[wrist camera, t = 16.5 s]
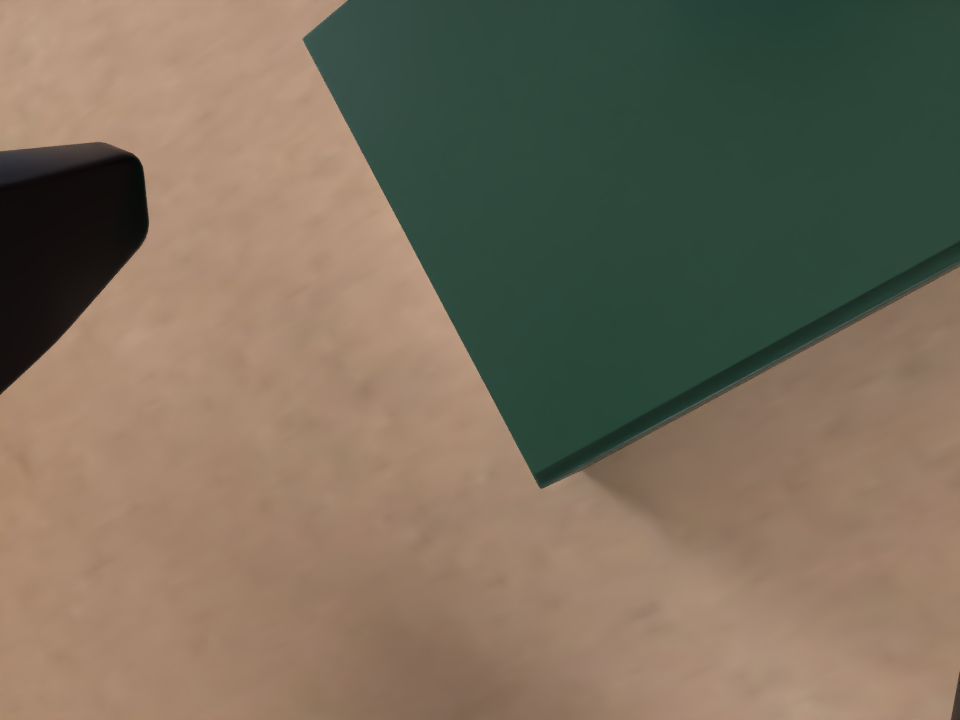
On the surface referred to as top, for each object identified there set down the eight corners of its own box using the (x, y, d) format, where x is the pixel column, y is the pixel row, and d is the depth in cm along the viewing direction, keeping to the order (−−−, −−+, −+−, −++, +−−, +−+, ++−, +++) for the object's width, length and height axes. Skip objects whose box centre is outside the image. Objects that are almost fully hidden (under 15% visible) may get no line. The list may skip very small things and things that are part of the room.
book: (1367, 47, 16) (1483, -20, 13) (578, 471, 21) (539, 489, 18) (989, -422, 18) (1019, -566, 15) (364, 75, 23) (301, 38, 21)
